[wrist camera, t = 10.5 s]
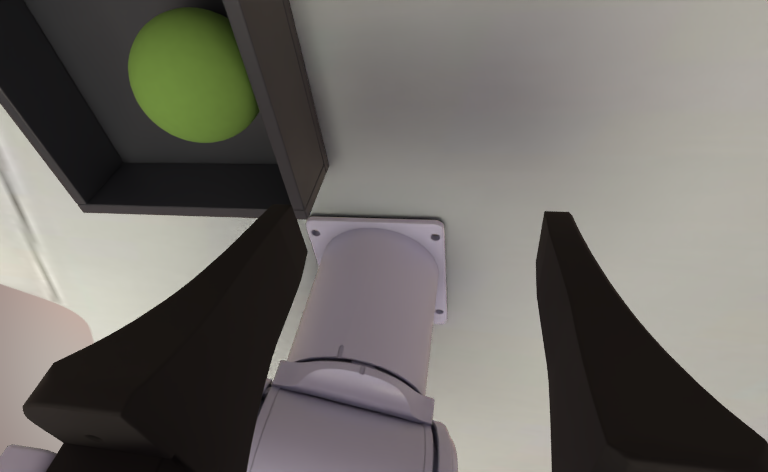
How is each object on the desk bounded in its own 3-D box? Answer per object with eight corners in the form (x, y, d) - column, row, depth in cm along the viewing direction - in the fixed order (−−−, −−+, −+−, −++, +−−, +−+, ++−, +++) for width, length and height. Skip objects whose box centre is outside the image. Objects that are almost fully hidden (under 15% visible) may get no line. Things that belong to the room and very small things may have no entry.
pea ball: (206, 59, 22) (296, 104, 21) (133, 134, 20) (229, 186, 19) (168, -42, 18) (281, 10, 17) (69, 42, 16) (190, 105, 15)
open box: (329, 166, 25) (308, 220, 22) (126, 164, 27) (83, 213, 24) (228, -248, 14) (160, -248, 11) (-93, -190, 16) (-215, -177, 14)
